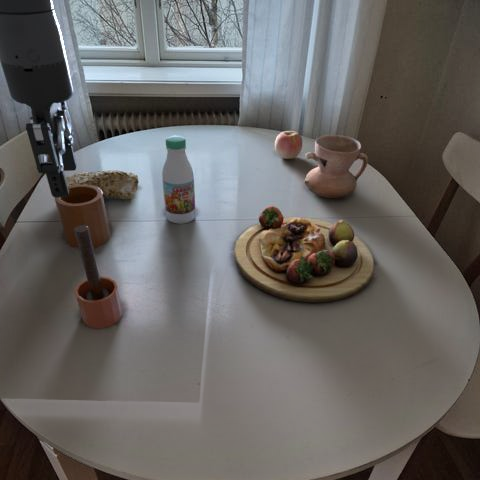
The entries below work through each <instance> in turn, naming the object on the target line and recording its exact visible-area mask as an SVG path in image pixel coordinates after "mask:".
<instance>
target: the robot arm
mask: <svg viewBox="0 0 480 480" xmlns="http://www.w3.org/2000/svg"><path fill="white" fill-rule="evenodd" d="M0 65H1V68H2V71H3V74H4V78H5V82H6V85H7V88H8V92H9V94H10V97H11V99H12V100H13V101H15V102H16V103H19V104H22V105H26V106H27V107H29V108H30V110H31V111H30V112H31V116H30V117H29V122H26V123H25V130H26V133H27V137H28V140H29V144H30V147H31V150H32V154H33V158H34V161H35V165H36V170H37V172H38V173H39V174H45V177H46V180H47V183H48V186H49V190H50V193H51V196H52V197H53V198H55V197H56V198H58V197H67V196H68V194H69V190H68V186H67V182H66V178H65V177H66V174H65V172H73V171H76V170H77V162H76V156H75V152H74V148H73V143H74V138H73V135H74V131H75V130H74V128H73V126H72V120H71V116H70V113H69V112H70V111H69V109H68V104H67V101H68V100H70V99H71V98H73V96H74V88H73V82H72V77H71V73H70V68H69V63H68V59H67V54H66V50H65V45H64V40H63V35H62V31H61V29H60V24H59V21H58V19H57V16H56V12H55V9H54V4H53V0H0ZM47 156H50V160H51V161H48V159H47Z"/></svg>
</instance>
